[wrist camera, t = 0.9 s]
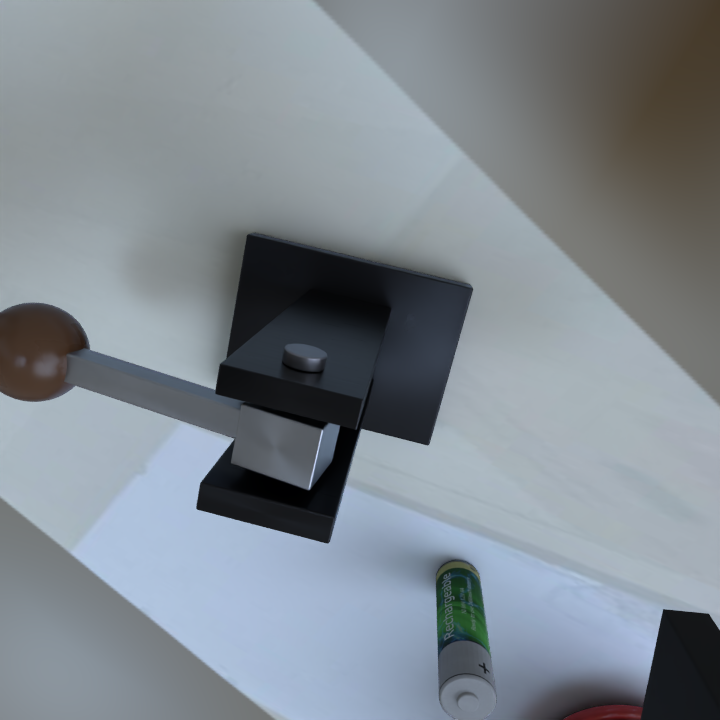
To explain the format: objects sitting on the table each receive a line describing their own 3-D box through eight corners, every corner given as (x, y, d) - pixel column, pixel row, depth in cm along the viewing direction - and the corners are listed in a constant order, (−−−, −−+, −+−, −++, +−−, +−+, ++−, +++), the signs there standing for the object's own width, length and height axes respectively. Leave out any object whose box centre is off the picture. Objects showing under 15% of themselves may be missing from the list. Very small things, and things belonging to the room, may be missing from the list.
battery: (480, 559, 36) (497, 681, 27) (480, 597, 37) (497, 729, 28) (435, 558, 37) (437, 678, 28) (436, 596, 37) (438, 726, 28)
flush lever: (29, 372, 25) (-50, 397, 21) (34, 286, 24) (-47, 298, 20) (332, 473, 22) (298, 520, 19) (354, 382, 21) (322, 414, 18)
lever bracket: (227, 386, 35) (76, 533, 20) (253, 232, 33) (103, 267, 17) (429, 437, 35) (430, 627, 20) (471, 284, 32) (511, 367, 17)
